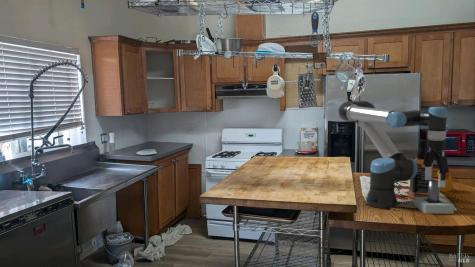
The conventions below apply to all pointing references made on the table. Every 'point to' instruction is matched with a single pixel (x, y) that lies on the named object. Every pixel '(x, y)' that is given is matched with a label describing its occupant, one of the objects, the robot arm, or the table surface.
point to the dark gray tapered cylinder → (433, 191)
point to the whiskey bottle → (419, 174)
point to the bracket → (446, 182)
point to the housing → (433, 206)
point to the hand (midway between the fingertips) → (434, 183)
